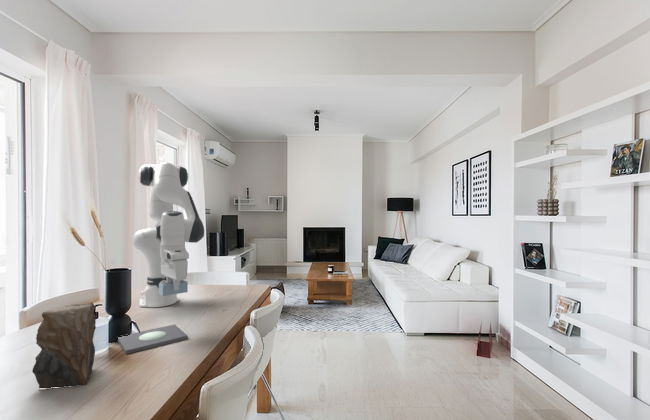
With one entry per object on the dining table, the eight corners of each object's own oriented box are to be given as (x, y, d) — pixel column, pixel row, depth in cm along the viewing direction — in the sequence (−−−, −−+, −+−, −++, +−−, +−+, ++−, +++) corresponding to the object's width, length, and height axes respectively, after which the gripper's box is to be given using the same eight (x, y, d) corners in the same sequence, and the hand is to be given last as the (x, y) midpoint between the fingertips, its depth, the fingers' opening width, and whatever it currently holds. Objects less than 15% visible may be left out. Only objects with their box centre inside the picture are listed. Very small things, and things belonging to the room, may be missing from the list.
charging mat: (117, 339, 121) (117, 336, 121) (174, 327, 134) (174, 323, 134) (125, 354, 109) (125, 350, 109) (187, 338, 122) (187, 335, 122)
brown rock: (30, 392, 86) (30, 316, 86) (56, 369, 98) (56, 303, 98) (85, 385, 89) (85, 312, 89) (104, 364, 101) (104, 300, 101)
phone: (158, 293, 126) (158, 282, 126) (183, 289, 132) (183, 279, 132) (162, 296, 122) (162, 285, 122) (187, 292, 128) (187, 281, 128)
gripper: (156, 251, 133) (156, 285, 132) (172, 256, 117) (172, 294, 117) (172, 250, 137) (173, 283, 137) (190, 254, 122) (190, 291, 121)
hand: (173, 288), depth 127 cm, fingers closed on phone, 5 cm apart
